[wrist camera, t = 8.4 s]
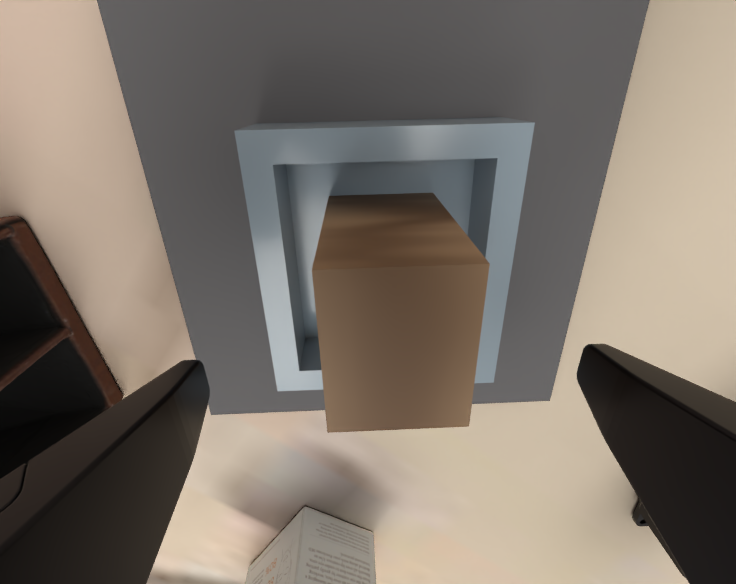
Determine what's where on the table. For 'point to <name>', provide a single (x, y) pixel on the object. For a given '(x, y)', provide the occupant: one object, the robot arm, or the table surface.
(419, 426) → the short wooden block
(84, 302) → the table surface
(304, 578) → the small box
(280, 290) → the tray
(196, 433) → the robot arm
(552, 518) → the table surface
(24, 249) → the letter holder
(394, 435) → the table surface
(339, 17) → the coaster
